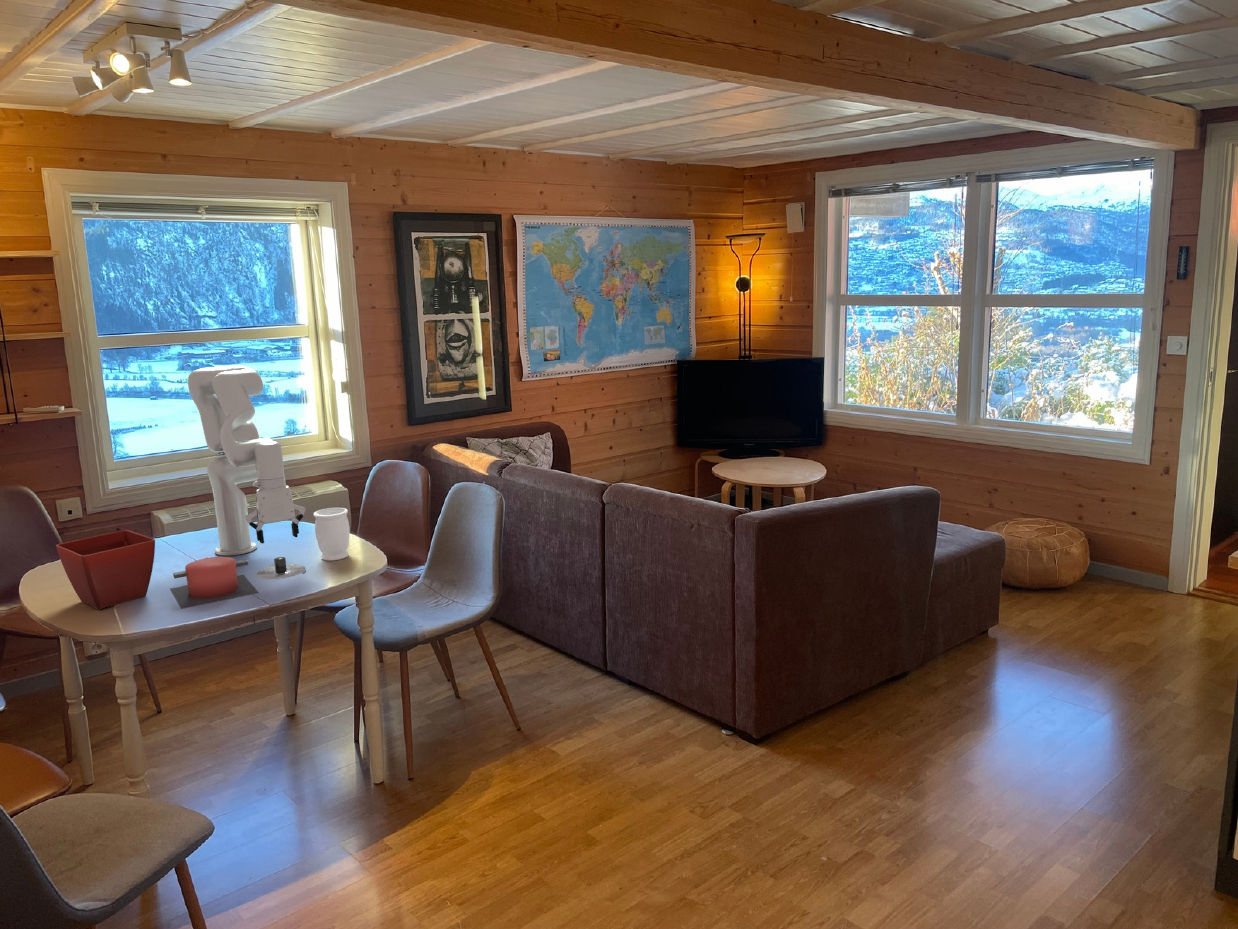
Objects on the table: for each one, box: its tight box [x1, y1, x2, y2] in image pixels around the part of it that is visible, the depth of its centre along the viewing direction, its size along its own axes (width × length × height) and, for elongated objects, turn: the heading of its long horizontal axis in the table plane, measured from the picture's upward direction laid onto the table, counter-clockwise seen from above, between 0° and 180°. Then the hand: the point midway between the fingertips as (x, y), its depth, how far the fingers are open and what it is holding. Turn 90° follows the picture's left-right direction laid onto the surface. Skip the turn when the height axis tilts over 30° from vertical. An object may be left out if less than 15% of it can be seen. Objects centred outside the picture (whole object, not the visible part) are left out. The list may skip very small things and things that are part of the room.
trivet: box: [169, 574, 259, 610], centre depth 257 cm, size 20×20×1 cm
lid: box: [255, 556, 307, 580], centre depth 272 cm, size 14×14×5 cm
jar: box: [313, 507, 351, 561], centre depth 286 cm, size 11×10×15 cm
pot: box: [172, 556, 249, 599], centre depth 256 cm, size 13×19×8 cm
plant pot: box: [55, 529, 156, 610], centre depth 252 cm, size 19×19×17 cm
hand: (278, 539), depth 270 cm, fingers open, 9 cm apart
